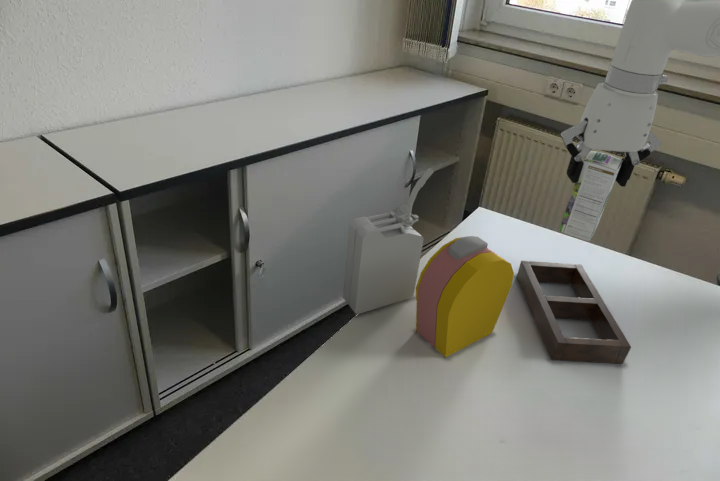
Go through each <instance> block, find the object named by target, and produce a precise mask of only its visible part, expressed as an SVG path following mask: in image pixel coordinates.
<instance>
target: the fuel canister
mask: <svg viewBox="0 0 720 481" xmlns="http://www.w3.org/2000/svg"><path fill="white" fill-rule="evenodd" d="M434 173H435V170H434V169H433V168H431V167H428V168H427V170H426V171H425V173H424V174H423V175H422V176H421V177H420V178H419V179H418V180H417V181H416V183H415V185H414V186H413V188H412V190H411V193H410V195H409V198H408V200H407V202H406V204H400V206H397V207H394V208H391V209H390V212H385V213H380V214H376V215H370V216H360V217H355V218H353V219H352V220H350V223H349V224H348V233H347V235H348V236H347V245H346V246H347V247H346V258H345V269H344V280H343V290H342V291H343V292H342V298H343V300H344V301H345V302H346V304H347V305H348V306H349V308H350V309H351V310H352V311H353V313H354V314H355V315H360V314H363V313H366V312H369V311H373V310H376V309H379V308H383V307H386V306H390V305H392V304H396V303H399V302H402V301H405V300H410V299H411V298H413V297H414V296H415V292H416V286H417V279H418V273H419V268H420V262H421V257H422V251H423V245H424V240H425V239H424V236H423V235H421V234H420V233H419V232H418V231H417V230H416V229H414V228H413V227H412V226H413V225H414V224H415V223H416V222H419V218H420V217H419V215H418V214H412V210H413V205H414V202H415V201H416V199H417V196H418V193H419V191H420V190H421V188H423V187H424V185H425V184H426V183H427V181H428V179H430V177H431V176H432V175H433V174H434ZM394 216H395V217H394Z"/></svg>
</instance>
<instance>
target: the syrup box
mask: <svg viewBox="0 0 720 481" xmlns="http://www.w3.org/2000/svg"><path fill="white" fill-rule="evenodd" d="M582 161H583V162H584V165H583V168H582V171H581V174H580V177H579V180H578V182H577V183H574V185H573V188H572V191H571V194H570V196H569V200H568V202H567V206H566V208H565V212H564V213H563V217H562V219H561V223H560V225H559V229H558V233H560V234H563V235H567V236H570V237H573V238H576V239H579V240H582V241H586V242H589V243H590V242H591V241H592V238H593V236H594V234H595V232H596V231H597V228H598V226H599V223H600V221H601V218H602V215H603V213H604V210H605V208H606V206H607V203H608V200H609V198H610V195H611V193H612V190H613V188H614V185H615V182H616V177H617V174H618V172H619V169H620V167H621V164H622V162H623V160H622V158H619V157H616V156H614V155H611V154H608V153H606V152H605V153H604V152H601V151H597V150H591V151H590V152H589V153H588V154H587V155H586V156H585V157H584V158H583V160H582Z"/></svg>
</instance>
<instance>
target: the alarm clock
mask: <svg viewBox="0 0 720 481" xmlns="http://www.w3.org/2000/svg"><path fill="white" fill-rule="evenodd" d="M488 245H489V244H488V242H486V241H485V240H483V239H482V238H481V237H479V236H475V235H468V236H467V235H466V236H461V237H455V238H454V239H452V240H450V241H448V242H447V243H444V244H443V245H442V246H441V247H439V249H438V250H437V251H436V252H435V253H434V254H433V255H431V257H429V260H428V261H427V262H426V264H425V266H424V267H423V268H422V270H421V272H420V274H419V277H418V280H417V282H416V285H415V301H416V304H415V305H416V309H415V311H416V312H415V320H416V321H415V331H416V332H417V334H419V335H420V336H421V337H422V338H423V339H424V340H426V341H427V343H429V344H430V345H431V346H432V347H433V348H435V350H437V352H439V353H440V354H441V355H442V356H444V358H447V357H449V356H452V355H453V354H456V353H458V352H459V351H461V350H463V349H465V348H467V347H468V346H470V345H472V344H475V343H476V342H478V341H480V340H482V339H484V338H486V337H488V336H489V335H491V334H492V333H493V332H494V329H495V327H496V324H497V322H498V320H499V318H500V315H501V312H502V310H503V309H504V306H505V303H506V301H507V298H508V297H509V294H510V292H511V289H512V286H513V281H514V274H515V272H514V269H513V266H512V263H511V262H510V261H507V260H506V259H504V257H502V256H500V255H498V254H497V253H495V252H494V251H493V250H492V249H489V248H488Z"/></svg>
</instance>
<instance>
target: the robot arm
mask: <svg viewBox="0 0 720 481" xmlns="http://www.w3.org/2000/svg"><path fill="white" fill-rule="evenodd" d="M624 18H625V19H624V21H623V25H622V27H621V30H620V33H619V37H618V40H617V42H616V45H615V49H614V52H613V55H612V58H611V60H610V64H609V66H608V70H607V72H606V76H605V79H604V82H598V84H597V85H596V87H595V88H594V90H593V92H592V94H591V95H590V98H589V100H588V101H587V104H586V106H585V108H584V110H583V113H582V115H581V118H580V120H579V123H576V124H574V125H573V126H571V127H569V128H567V129H564V130H562V132H561V133H560V137H561V139H562V142H563V144H564V148H566V150H567V152H568V153H569V154H570V156H571V157H570V158H569V162H568V166H567V169H566V175H567V177H568V179H569V180H570V182H571V183H572V184H575V183H577V182H578V180H579V177H580V174H581V171H582V168H583V165H584V162H583V161H584V159H585V158H586V157H587V155H588V154H589V152H590V151H604V152H605V151H607V152H621V153H624V157H622V158H621V159H622V160H623V162H622V164H621V167H620V169H619V172H618V174H617V177H616V180H615V182H616V183H617V184H618V185H619V186H620V187H624V188H625V187H626V186H627V183H628V181H629V180H630V178H631V176H632V173H633V171H634V168H635V167H636V166H638V165H639V164H640V162H642V161H643V160H645V159H646V158H648V157H649V156H650V155H651V153H652V152H654V151H656V149H658V148H659V147H660V146H661V145H662V141H661V140H660V139H659V138H658V137H657V136H656V135H655V134H654V133H653V132H652V130H651V128H652V125H653V123H654V118H655V115H656V114H655V113H656V109H657V105H658V99H659V93H658V92H657V90H658V88H659V85H666V84H667V82H668V80H669V76H668V75H666V74H664V70H665V68H666V65H667V63H668V61H669V57H670V55H671V52H672V51H678V52H682V53H686V54H691V55H695V56H698V57H704V58H712V57H713V58H714V57H719V56H720V0H631V1H630V3H629V6H628V10H627V12H626V16H625V17H624ZM575 137H576V138H577V139H578V142H576V144H574V141H573V139H574V138H575Z"/></svg>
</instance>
